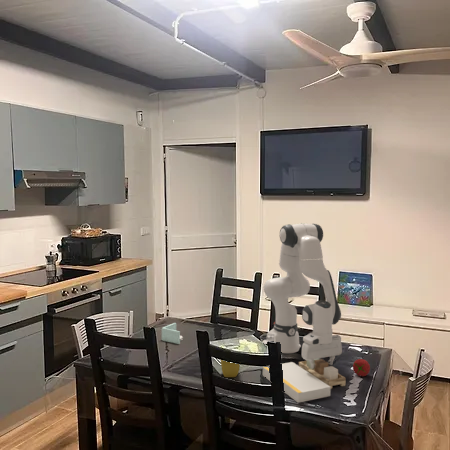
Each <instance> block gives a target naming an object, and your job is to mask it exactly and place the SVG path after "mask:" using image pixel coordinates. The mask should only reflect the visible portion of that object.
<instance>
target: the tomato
mask: <svg viewBox="0 0 450 450" xmlns="http://www.w3.org/2000/svg"><path fill="white" fill-rule="evenodd" d="M370 370H371V365H370V364H369V362H368V361H367V360H366V359H363V358H359V359H355V361H354V362H353V365H352V371H353V372H354V373H355V375H357V376H358V377H363V378H364V377H366V376H367V375H368V374H369V373H370Z"/></svg>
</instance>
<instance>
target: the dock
mask: <svg viewBox="0 0 450 450" xmlns="http://www.w3.org/2000/svg"><path fill="white" fill-rule="evenodd" d="M281 364H282V370H283V383H284V391H285V392H284V393H285V395H287V396H288V397H289V398H291V399H293V400H294V401H295V402H297V403H299V404H300V403H303V402H304V403H305V402H308V401H313V400H317V399H323V398H327V397H331V391H332V388H331V387H330V386H329V385H327V384H325V383H324V382H322V381H321V380H319V379H318V378H316V377H315V376H313V375H312V374H310V373H309V372H307V371H306V370H304V369H302V368H301V367H299V364H296V363H295V362H293V361H290V362H285V363H281ZM262 376H263V377H264V378H265V377H266V378H265V379H266V380H268V381H269V382H271V381H270V373H269V368H268V367H264V366H262Z"/></svg>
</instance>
